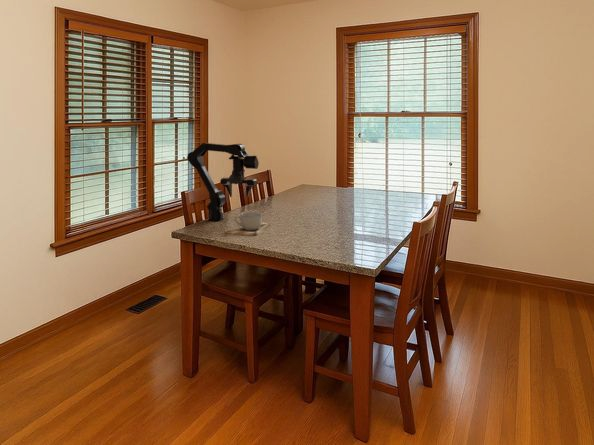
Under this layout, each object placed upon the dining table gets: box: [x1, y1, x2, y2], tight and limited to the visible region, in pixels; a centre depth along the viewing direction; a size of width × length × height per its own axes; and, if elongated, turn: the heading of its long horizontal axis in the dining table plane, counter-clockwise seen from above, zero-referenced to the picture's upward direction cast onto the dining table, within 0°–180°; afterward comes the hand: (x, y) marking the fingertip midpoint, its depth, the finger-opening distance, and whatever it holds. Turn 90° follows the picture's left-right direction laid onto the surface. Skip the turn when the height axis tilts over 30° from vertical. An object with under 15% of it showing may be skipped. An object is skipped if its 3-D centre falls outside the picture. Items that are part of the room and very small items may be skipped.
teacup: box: [233, 210, 263, 231], centre depth 228 cm, size 14×11×8 cm
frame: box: [224, 221, 271, 236], centre depth 228 cm, size 16×20×1 cm
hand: (239, 197), depth 242 cm, fingers open, 9 cm apart
